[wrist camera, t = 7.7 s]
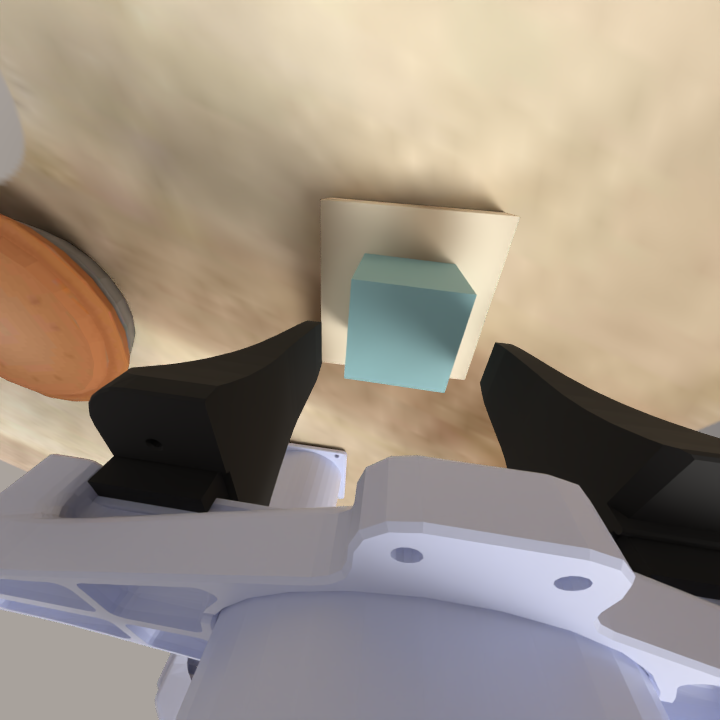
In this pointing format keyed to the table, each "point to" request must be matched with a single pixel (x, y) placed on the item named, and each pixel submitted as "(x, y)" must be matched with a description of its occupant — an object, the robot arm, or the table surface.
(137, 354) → the table surface
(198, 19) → the table surface
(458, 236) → the birch base
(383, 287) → the teal block
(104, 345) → the pie
